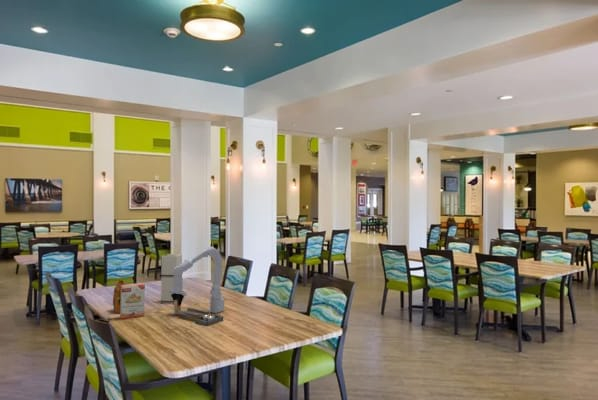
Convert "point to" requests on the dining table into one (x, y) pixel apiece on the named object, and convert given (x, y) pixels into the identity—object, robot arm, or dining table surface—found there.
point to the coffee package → (117, 295)
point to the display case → (168, 276)
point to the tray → (206, 323)
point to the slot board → (192, 314)
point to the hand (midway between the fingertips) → (177, 305)
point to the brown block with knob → (176, 307)
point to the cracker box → (132, 300)
